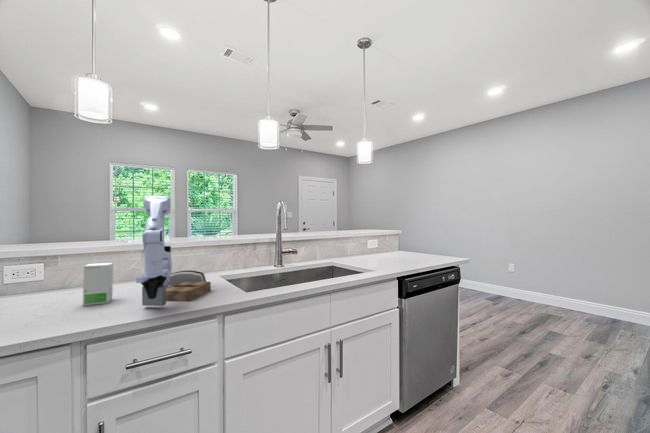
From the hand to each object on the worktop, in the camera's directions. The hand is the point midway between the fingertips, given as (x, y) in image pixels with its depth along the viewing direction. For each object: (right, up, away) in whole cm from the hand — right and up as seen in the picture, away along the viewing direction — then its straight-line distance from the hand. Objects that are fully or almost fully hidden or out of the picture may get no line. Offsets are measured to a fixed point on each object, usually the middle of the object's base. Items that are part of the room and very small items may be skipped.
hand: (154, 297), depth 102 cm
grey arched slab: (-2, -4, +29) cm, 30 cm away
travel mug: (-18, -4, +36) cm, 40 cm away
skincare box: (-27, -5, +8) cm, 29 cm away
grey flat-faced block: (0, -3, 0) cm, 3 cm away
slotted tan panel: (+4, -4, +16) cm, 17 cm away
